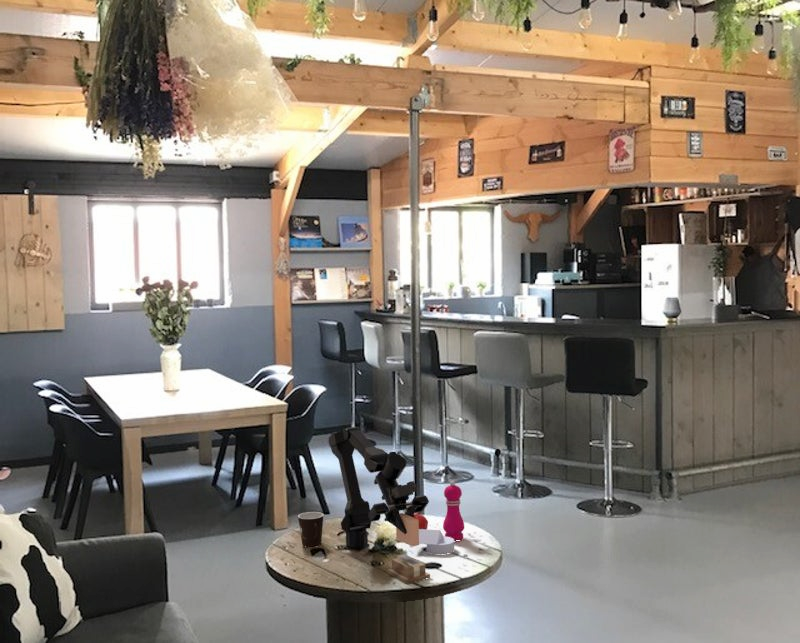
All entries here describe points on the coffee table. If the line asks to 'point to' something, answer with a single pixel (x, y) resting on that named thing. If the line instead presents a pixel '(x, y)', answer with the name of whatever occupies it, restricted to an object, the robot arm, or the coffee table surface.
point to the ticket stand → (408, 569)
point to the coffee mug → (311, 528)
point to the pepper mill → (453, 513)
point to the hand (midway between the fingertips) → (409, 532)
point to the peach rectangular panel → (409, 530)
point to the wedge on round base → (436, 541)
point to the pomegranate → (421, 521)
